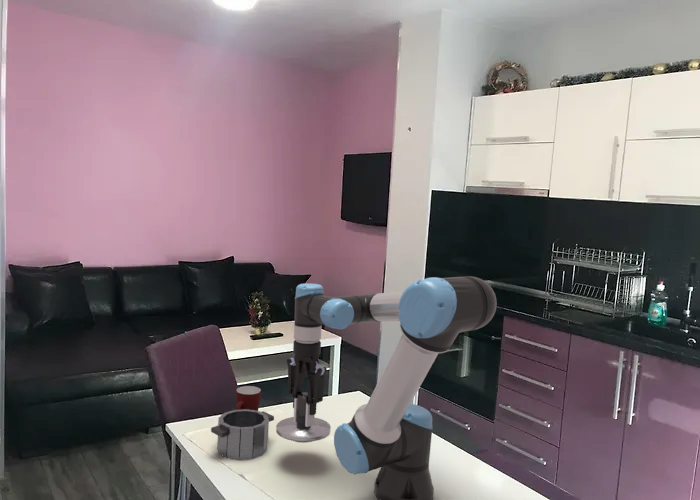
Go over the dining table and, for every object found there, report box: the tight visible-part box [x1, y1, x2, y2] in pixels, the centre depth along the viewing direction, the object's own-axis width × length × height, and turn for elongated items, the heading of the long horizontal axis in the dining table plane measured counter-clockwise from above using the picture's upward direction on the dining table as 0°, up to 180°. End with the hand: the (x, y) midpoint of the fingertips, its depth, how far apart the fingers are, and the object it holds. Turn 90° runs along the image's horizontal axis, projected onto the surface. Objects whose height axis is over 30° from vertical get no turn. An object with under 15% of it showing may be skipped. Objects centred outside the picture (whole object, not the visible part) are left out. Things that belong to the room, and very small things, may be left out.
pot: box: [210, 409, 275, 461], centre depth 166 cm, size 14×19×9 cm
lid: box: [275, 391, 332, 444], centre depth 159 cm, size 15×15×12 cm
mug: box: [235, 385, 262, 411], centre depth 186 cm, size 10×8×10 cm
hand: (303, 422), depth 159 cm, fingers closed on lid, 4 cm apart
